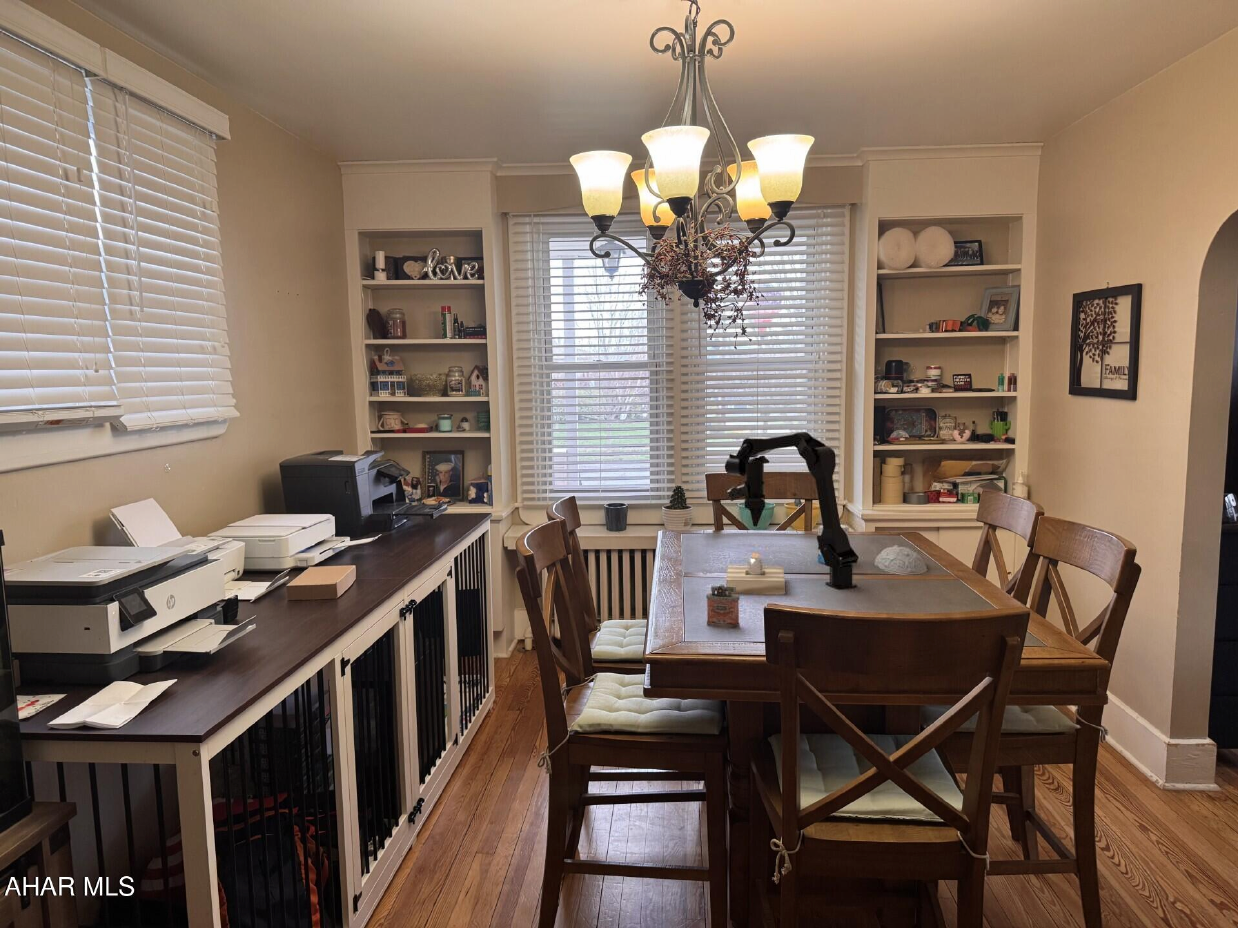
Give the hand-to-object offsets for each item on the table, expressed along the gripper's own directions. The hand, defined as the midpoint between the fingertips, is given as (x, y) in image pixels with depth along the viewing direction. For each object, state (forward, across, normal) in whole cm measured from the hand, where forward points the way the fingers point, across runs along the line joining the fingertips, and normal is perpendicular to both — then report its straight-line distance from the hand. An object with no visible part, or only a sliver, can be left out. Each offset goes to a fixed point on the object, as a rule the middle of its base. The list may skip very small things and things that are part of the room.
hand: (755, 526), depth 249 cm
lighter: (+13, +61, -8) cm, 63 cm away
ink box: (+13, -8, +25) cm, 29 cm away
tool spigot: (+13, +24, 0) cm, 27 cm away
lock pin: (+9, +15, 0) cm, 17 cm away
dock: (+13, +24, 0) cm, 27 cm away
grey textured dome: (+14, -5, +45) cm, 47 cm away
